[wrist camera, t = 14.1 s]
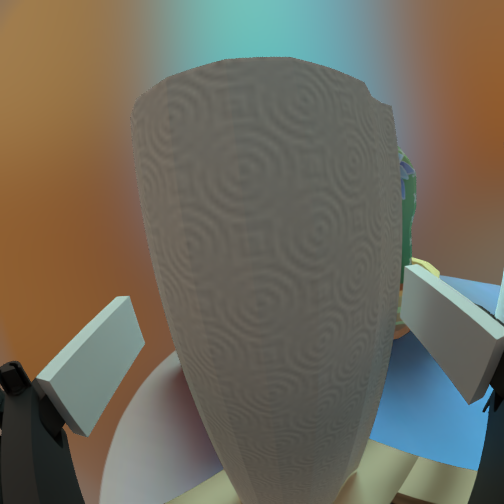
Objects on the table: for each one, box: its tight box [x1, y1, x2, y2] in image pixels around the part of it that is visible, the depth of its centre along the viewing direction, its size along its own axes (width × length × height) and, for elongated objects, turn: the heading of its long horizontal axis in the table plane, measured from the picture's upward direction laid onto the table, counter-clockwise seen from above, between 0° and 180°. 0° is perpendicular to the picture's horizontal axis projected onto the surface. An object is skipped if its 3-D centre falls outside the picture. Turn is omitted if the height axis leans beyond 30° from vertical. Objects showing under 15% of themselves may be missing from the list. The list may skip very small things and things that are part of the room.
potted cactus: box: [393, 147, 440, 339], centre depth 31 cm, size 15×15×25 cm
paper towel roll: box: [130, 57, 402, 504], centre depth 9 cm, size 7×6×21 cm
